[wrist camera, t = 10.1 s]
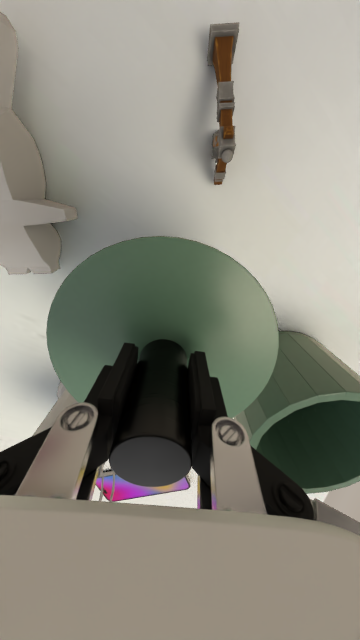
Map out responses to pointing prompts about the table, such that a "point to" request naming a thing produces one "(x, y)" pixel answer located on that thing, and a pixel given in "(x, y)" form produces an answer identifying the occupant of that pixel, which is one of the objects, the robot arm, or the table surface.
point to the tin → (308, 416)
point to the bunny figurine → (23, 182)
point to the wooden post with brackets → (223, 93)
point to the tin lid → (162, 342)
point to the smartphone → (135, 488)
